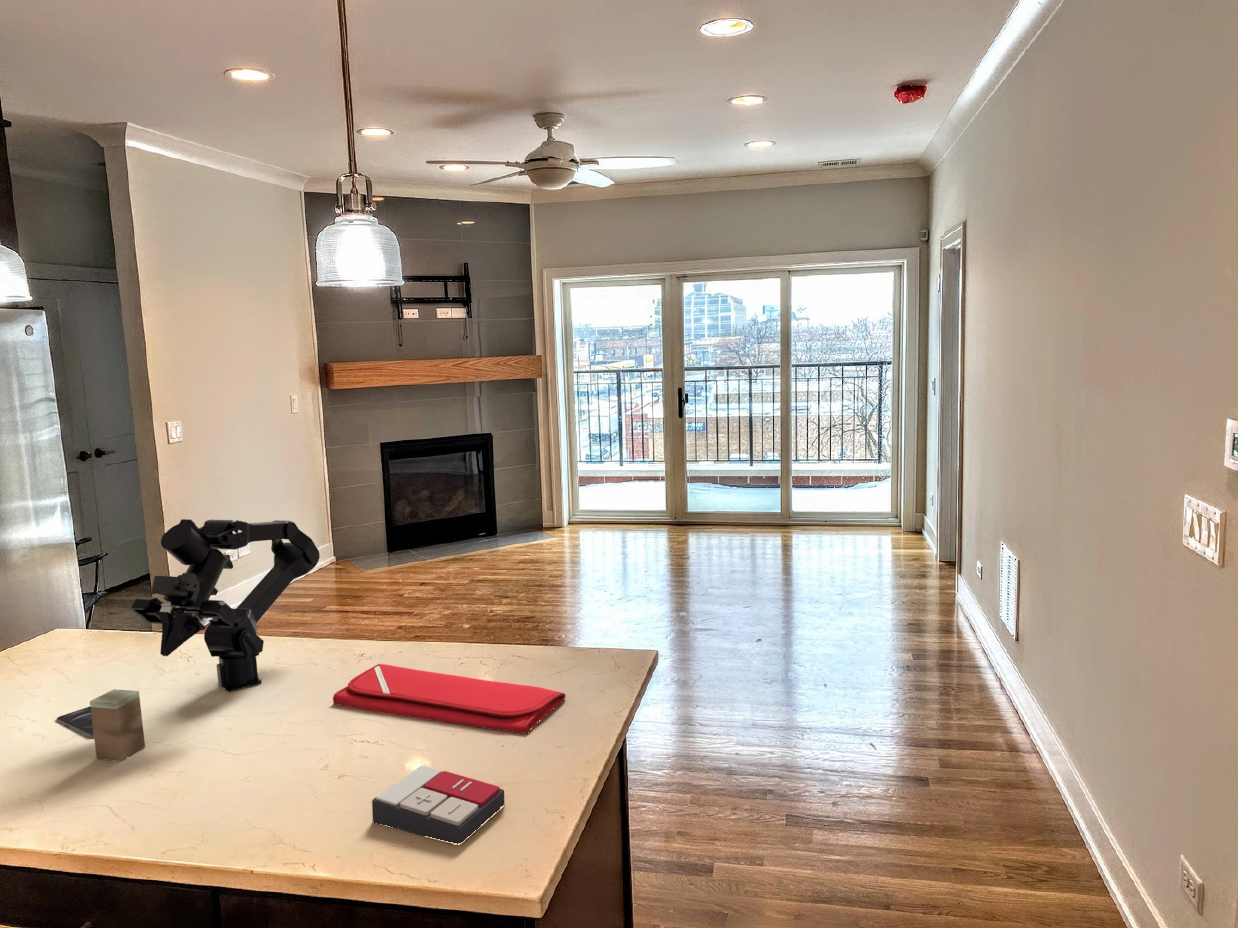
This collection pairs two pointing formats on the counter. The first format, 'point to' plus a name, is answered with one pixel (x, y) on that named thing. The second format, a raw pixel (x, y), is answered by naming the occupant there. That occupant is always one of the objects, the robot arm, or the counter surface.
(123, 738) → the walnut block
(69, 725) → the smartphone
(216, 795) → the counter surface
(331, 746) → the counter surface
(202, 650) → the counter surface
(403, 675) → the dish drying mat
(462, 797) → the calculator
